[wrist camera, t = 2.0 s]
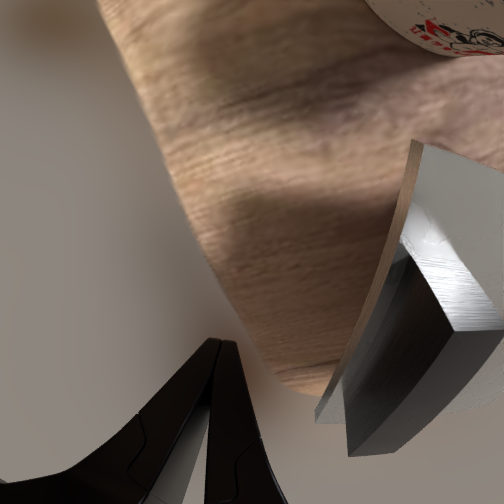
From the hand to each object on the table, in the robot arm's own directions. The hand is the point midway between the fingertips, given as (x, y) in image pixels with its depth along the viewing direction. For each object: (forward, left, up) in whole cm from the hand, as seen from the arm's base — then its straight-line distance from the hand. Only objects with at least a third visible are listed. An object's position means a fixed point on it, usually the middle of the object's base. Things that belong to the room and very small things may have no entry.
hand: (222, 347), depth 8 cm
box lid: (-11, 0, -2) cm, 11 cm away
